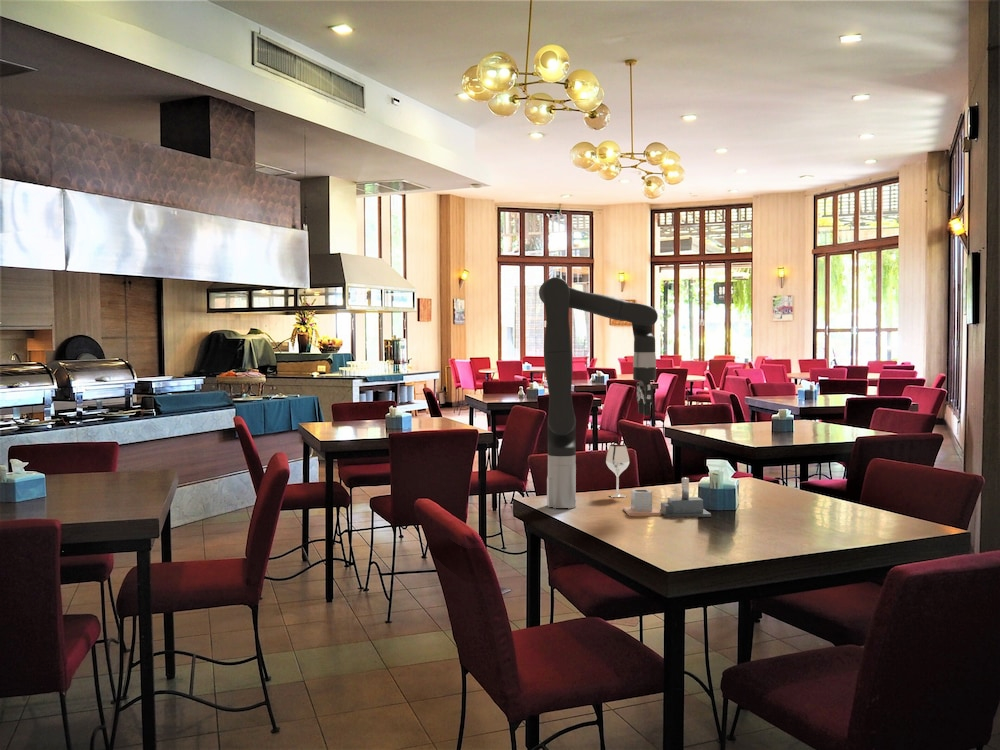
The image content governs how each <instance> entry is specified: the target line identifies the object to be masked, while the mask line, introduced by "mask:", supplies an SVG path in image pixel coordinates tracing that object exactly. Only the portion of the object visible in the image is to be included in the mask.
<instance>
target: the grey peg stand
mask: <svg viewBox="0 0 1000 750" xmlns="http://www.w3.org/2000/svg"><path fill="white" fill-rule="evenodd" d="M659 511H660V512H661V515H663V517H665V518H711V517H712V513H711V512H709V511H707V510H706V509H705V508H704V499H702V498H701V497H699V496H697V497H696V496H695V497H694V496H693V497H692V496H691V497H690V478H689V477H682V478H681V497H667V501H666V502H665V501H662V502H661V501H660V510H659Z"/></svg>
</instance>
